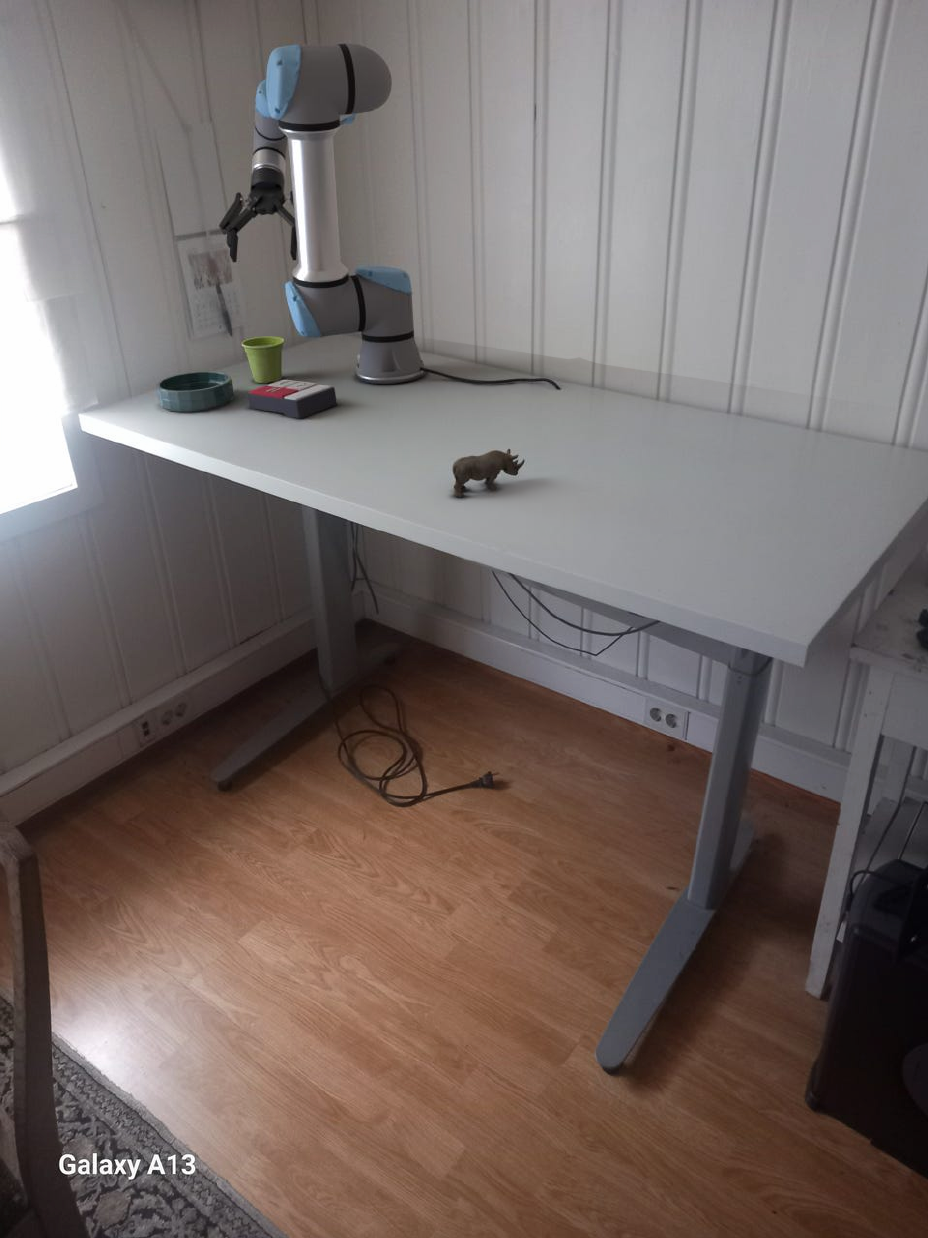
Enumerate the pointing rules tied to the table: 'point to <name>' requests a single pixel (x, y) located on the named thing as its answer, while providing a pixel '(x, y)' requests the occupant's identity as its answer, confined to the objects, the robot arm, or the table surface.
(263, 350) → the plant pot
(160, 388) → the bowl
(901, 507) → the table surface
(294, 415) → the calculator
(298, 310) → the robot arm
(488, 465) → the rhino figurine
